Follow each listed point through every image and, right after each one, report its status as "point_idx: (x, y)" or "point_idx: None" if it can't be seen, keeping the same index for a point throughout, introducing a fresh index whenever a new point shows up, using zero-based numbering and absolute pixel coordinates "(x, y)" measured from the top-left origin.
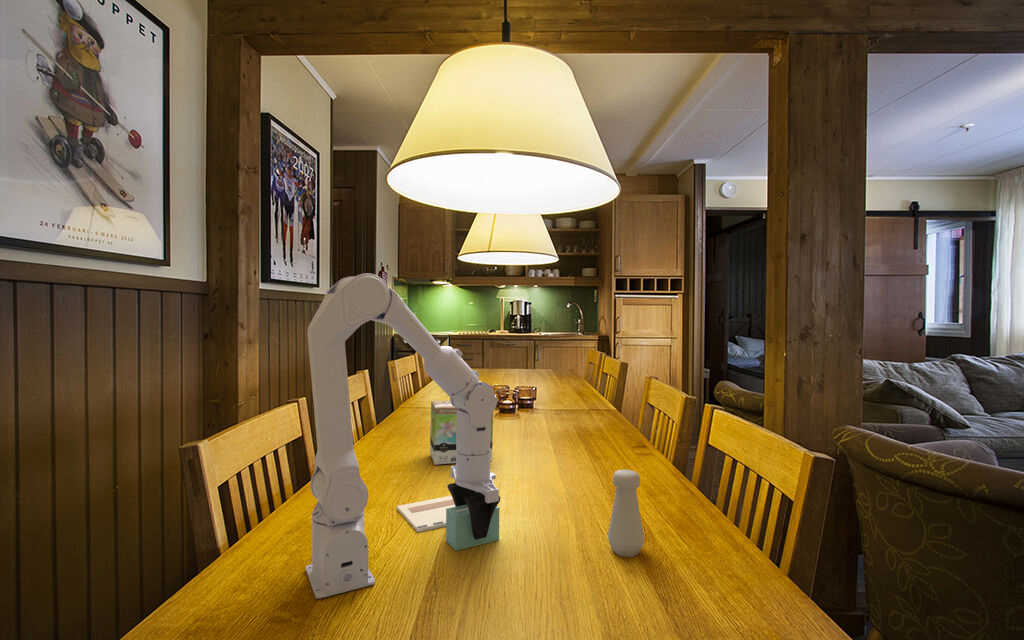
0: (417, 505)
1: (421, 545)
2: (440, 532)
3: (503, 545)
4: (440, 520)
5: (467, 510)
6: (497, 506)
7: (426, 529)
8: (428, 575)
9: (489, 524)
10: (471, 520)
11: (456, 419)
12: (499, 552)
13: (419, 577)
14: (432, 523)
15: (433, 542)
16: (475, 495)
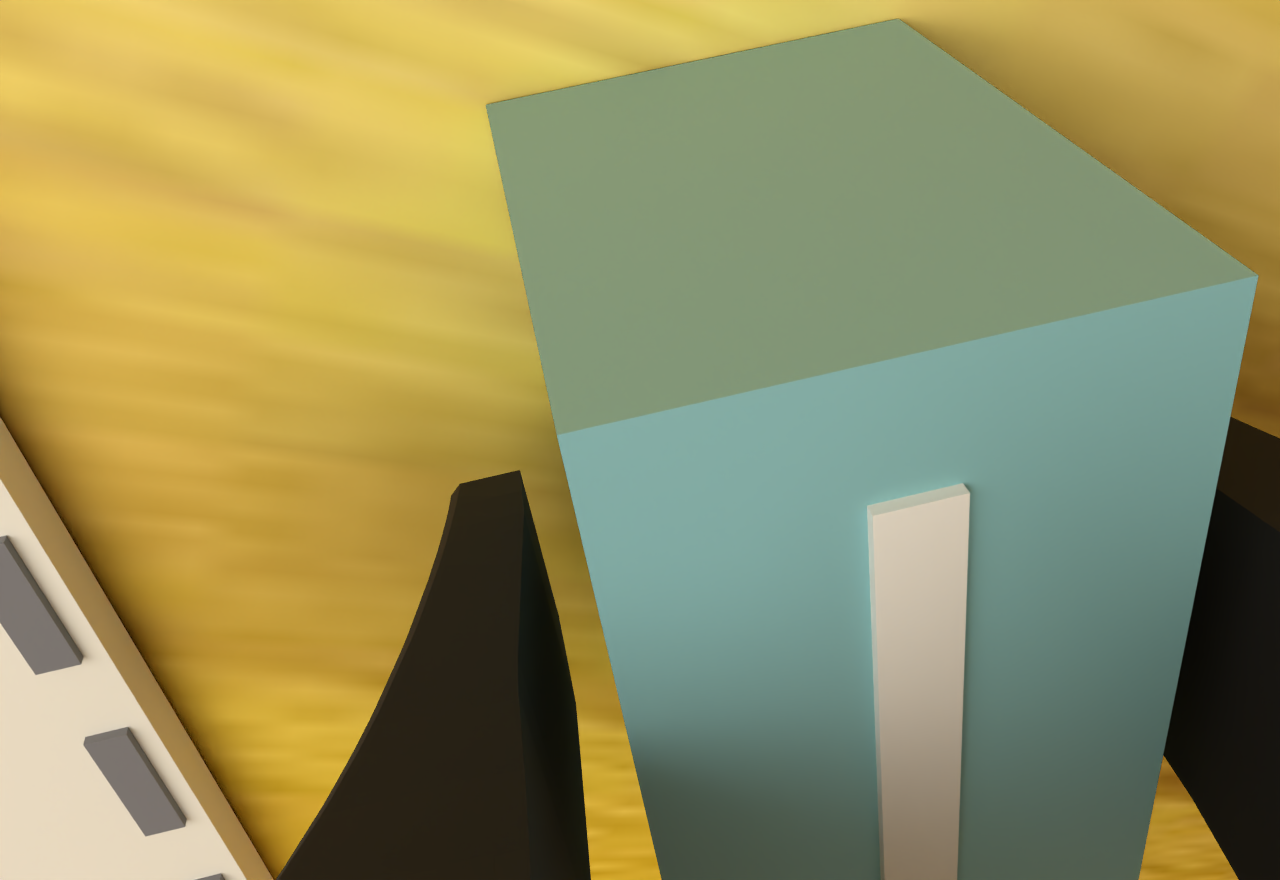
0: None
1: (625, 866)
2: (341, 720)
3: (1097, 5)
4: (29, 756)
5: (969, 876)
6: (1154, 303)
7: (247, 854)
8: (1184, 811)
9: (1238, 423)
10: (1181, 763)
11: None
12: (1242, 138)
13: (1169, 857)
14: (133, 833)
15: (599, 782)
16: (534, 861)
